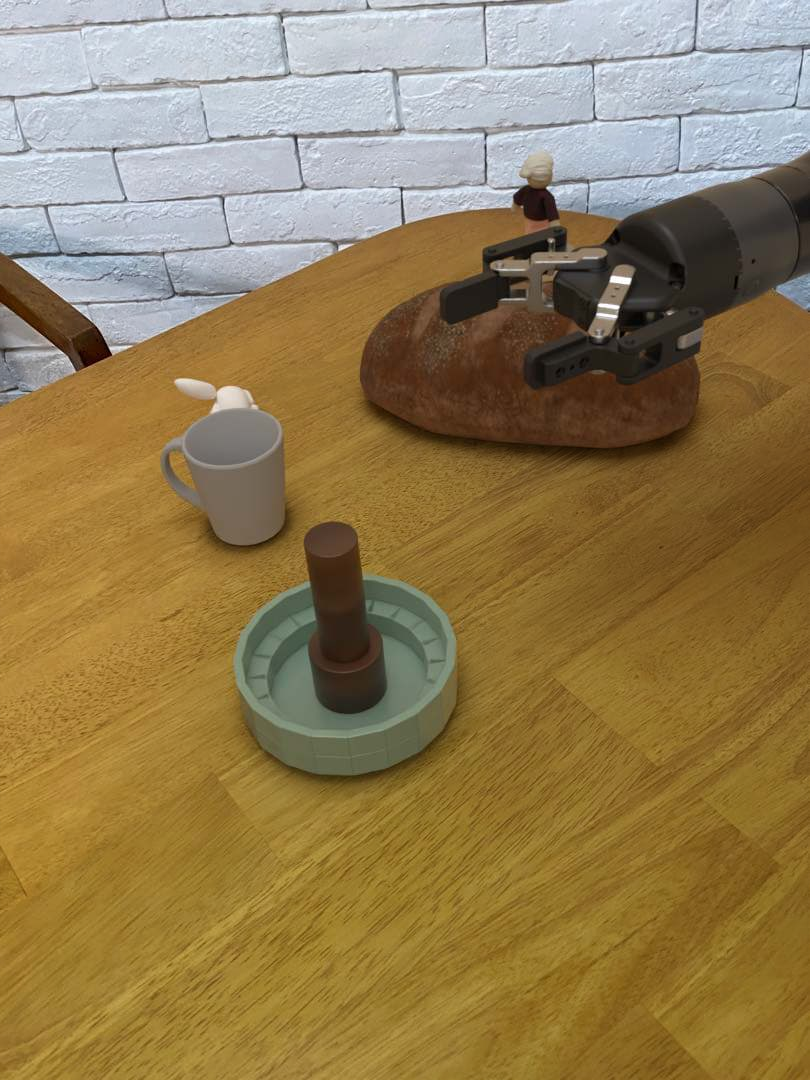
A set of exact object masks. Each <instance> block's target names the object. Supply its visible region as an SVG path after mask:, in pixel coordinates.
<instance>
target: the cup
mask: <svg viewBox="0 0 810 1080" xmlns="http://www.w3.org/2000/svg"><path fill="white" fill-rule="evenodd" d="M283 429H284V428H283V426H282V424H281V423H280V422H279V420H278V419H277V418H276V417H275V416H274V415H272V414H270V413H269V412H266V411H264V410H261V409H259V410H257V409H251V408H232V409H226V410H221V411H218V412H214V413H211V414H210V413H209V414H207V415H205V416H203V417H201V418H199V419H198V420H196V421H195V422H194V423H192V424H191V425H190V426H188V428H187V430H186V431H185V432H184V434H182V435H180V436H177V437H174V438H172V439H171V440H168V441H167V443H166V444H165V445H164V446H163V448H162V450H161V453H160V458H159V461H160V468H161V473H162V475H163V477H164V479H165V481H166V483H167V484H168V486H169V487H170V488H171V489H172V491H173V492H174V493H175V494H176V495H177V496H178V497H179V498H180V499H181V500H183V501H185V502H186V503H188V504H189V505H191V506H193V507H195V508H196V509H199V510H200V511H203V512H205V513H206V516H207V518H208V521H209V522H210V523H209V524H210V525H211V527H212V529H213V532H214V533H215V535H216V537H217V538H218V539H219V540H221V541H222V542H225V543H226V544H230V545H234V546H235V545H236V546H251V545H257V544H260V543H263V542H266V541H267V540H269V539H271V538H273V537H274V536H275V535H277V533H279V532H280V531H281V530H282V528H283V526H284V525H285V520H286V465H285V464H286V463H285V462H286V460H285V440H284V439H285V438H284V437H285V436H284V430H283ZM173 452H179V453H180V454H182V455H183V458H184V460H185V463H186V466H187V468H188V471H189V474H190V476H191V479H192V482H193V484H194V487H195V489H194V488H192V487H190V486H188V485H187V484H186V483H184V482H183V481H182V480H181V478H179V477H178V476H177V474H176V472H175V471H174V469H173V468H172V465H171V460H170V454H171V453H173Z"/></svg>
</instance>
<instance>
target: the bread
mask: <svg viewBox="0 0 810 1080" xmlns="http://www.w3.org/2000/svg"><path fill="white" fill-rule="evenodd" d="M459 281H460V280H454V281H451V282H446V283H443V284H440V285H438V286H435V287H431V288H430V289H426V290H424V291H422V292H419V293H417V294H416V295H414V296H413V297H411V298H408V299H407V300H404V301H402V302H400V303H399V304H397V305H395V307H393V308H392V309H390V310H389V311H388V312H387V313H386V314H385V315H384V316H382V318H381V319H380V320H379V321H378V323H377V324H376V325H375V327H374V328H373V329H372V330H371V332H370V334H369V335H368V338H367V339H366V341H365V343H364V347H363V350H362V354H361V360H360V365H359V383H360V385H361V387H362V391H363V393H364V394H365V396H366V398H367V399H368V400H370V401H371V402H372V403H374V404H375V405H377V406H379V407H381V408H383V409H384V410H386V411H387V412H388V413H391V414H393V415H394V416H396V417H398V418H400V419H401V420H404V421H405V422H408V423H409V424H411V425H414V426H416V427H417V428H419V429H422V430H425V431H428V432H430V433H434V434H439V435H440V434H441V435H444V436H451V437H457V438H458V437H459V438H466V439H473V440H481V441H487V442H497V443H498V442H499V443H510V444H511V443H512V444H525V445H537V446H538V445H539V446H554V447H572V448H573V447H575V448H597V449H613V448H614V449H615V448H624V447H631V446H634V445H641V444H644V443H647V442H651V441H654V440H657V439H660V438H663V437H666V436H668V435H670V434H672V433H673V432H675V431H677V430H679V429H682V428H685V427H687V425H688V424H689V422H690V420H691V418H692V417H693V415H694V413H695V411H696V408H697V405H698V402H699V397H700V390H701V372H700V369H699V365H698V363H697V360H696V357H695V355H693V356H691V357H689V358H687V359H685V360H683V361H681V362H679V363H677V364H675V365H673V366H671V367H668V368H666V369H664V370H662V371H660V372H658V373H656V374H654V375H652V376H650V377H648V378H646V379H644V380H642V381H640V382H637V383H635V384H633V385H621V384H619V383H617V382H616V374H613V373H610V372H606V373H604V374H599V375H596V374H591V373H589V372H587V373H584V374H582V375H579V376H577V377H574V378H572V379H569V380H567V381H565V382H564V381H563V382H562V383H560V384H557V385H555V386H548V387H543V388H541V389H538V390H533V389H532V388H530V387H529V386H528V385H526V384H525V383H524V381H523V366H524V356H525V354H526V353H527V352H528V351H529V350H531V349H534V348H536V347H539V346H541V345H544V344H546V343H549V342H551V341H554V340H556V339H559V338H562V337H564V336H567V335H569V334H572V333H574V332H577V331H580V332H582V333H583V334H585V335H586V336H588V331H587V332H585V331H584V330H582V329H581V328H579V327H578V326H577V325H576V323H575V322H574V321H573V320H572V319H569V318H567V317H564V316H562V315H560V314H559V313H535V312H532V311H531V310H530V309H529V307H528V306H500V305H498V308H496V309H493V310H491V311H488V312H485V313H483V314H480V315H477V316H475V317H472V318H469V319H467V320H464V321H461V322H459V323H456V324H453V325H450V324H448V323H447V322H445V321H444V320H443V319H442V318H441V317H440V300H439V295H440V292H441V290H442V289H443V288H445V287H447V286H448V285H450V284H453V283H457V282H459ZM529 287H530V280H526V281H523V282H520V283H517V284H514V285H511V286H510V289H527V288H529ZM542 291H543V293H544V294H546V295H549V296H552V292H553V282H542ZM630 333H632V332H630ZM630 333H629V334H630ZM645 351H646V349H645V350H643V351H641V352H639V358H641V357H643V356H644V354H645Z"/></svg>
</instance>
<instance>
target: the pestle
mask: <svg viewBox="0 0 810 1080" xmlns="http://www.w3.org/2000/svg"><path fill="white" fill-rule="evenodd" d="M303 547H304V554H305V561H306V567H307V574H308V581H310V586H311V593H312V599H313V605H314V611H315V618H316V624H317V631H316V632H315V633H314V634H313V636H312V637H311V639H310V641H309V645H308V653H309V659H310V665H311V671H312V677H313V683H314V689H315V694H316V697H317V699H318V700H319V702H320V703H321V704H322V705H323V706H324V707H326V708H327V709H329V710H331V711H333V712H336V713H341V714H354V713H360V712H363V711H366V710H368V709H370V708H372V707H373V706H375V705H376V704H377V703H378V702H379V701H380V700H381V699H382V697H383V696H384V694H385V692H386V689H387V677H386V668H385V658H384V649H383V640H382V636H381V634H380V633H379V631H378V630H377V629H376V628H375V627H374V626H373V625H371V624H370V623H368V619H367V610H366V602H365V593H364V585H363V576H362V574H363V567H362V560H361V552H360V551H361V550H360V543H359V535H358V532H357V531H356V529H355V528H354V527H353V526H352V525H350V524H348V523H346V522H343V521H337V520H336V521H325V522H321V523H319V524H316V525H314V526H312V528H310V529H309V530H307V532H306V533H305V535H304V537H303Z"/></svg>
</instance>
